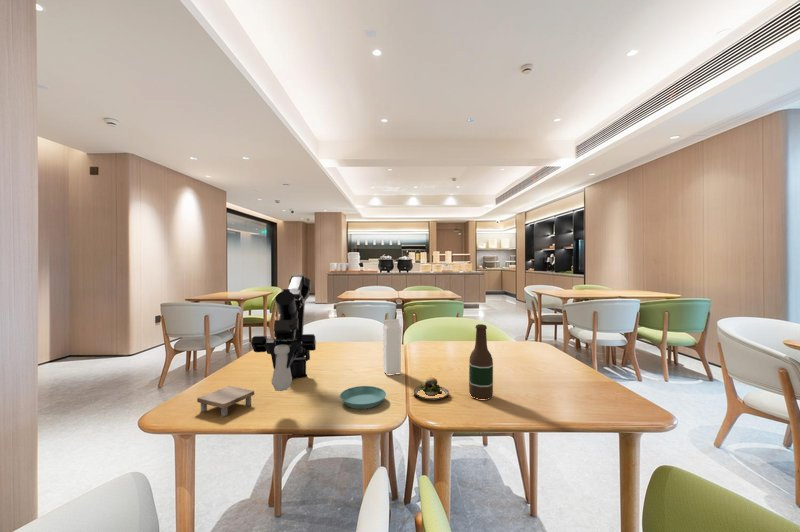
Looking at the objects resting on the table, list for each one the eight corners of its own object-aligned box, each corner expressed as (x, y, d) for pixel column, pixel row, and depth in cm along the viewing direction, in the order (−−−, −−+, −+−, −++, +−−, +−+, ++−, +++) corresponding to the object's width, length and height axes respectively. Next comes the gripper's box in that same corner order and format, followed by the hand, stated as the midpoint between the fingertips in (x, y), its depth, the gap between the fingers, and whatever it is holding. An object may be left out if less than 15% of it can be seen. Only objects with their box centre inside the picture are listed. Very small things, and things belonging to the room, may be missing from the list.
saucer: (335, 397, 111) (335, 389, 111) (377, 391, 117) (377, 383, 117) (346, 415, 98) (346, 406, 98) (392, 407, 103) (392, 399, 103)
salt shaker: (284, 393, 96) (284, 348, 96) (267, 391, 98) (267, 347, 98) (295, 386, 102) (295, 343, 102) (279, 384, 104) (279, 342, 103)
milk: (400, 375, 134) (401, 320, 134) (386, 376, 132) (386, 320, 132) (396, 370, 140) (397, 317, 139) (382, 371, 138) (383, 318, 138)
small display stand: (229, 398, 109) (229, 385, 109) (254, 403, 105) (254, 391, 105) (197, 411, 99) (197, 398, 99) (223, 418, 95) (223, 404, 95)
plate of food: (408, 400, 109) (408, 377, 109) (419, 388, 120) (420, 367, 120) (444, 405, 105) (444, 382, 105) (452, 392, 116) (452, 371, 116)
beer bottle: (493, 393, 115) (493, 323, 115) (492, 402, 107) (492, 327, 107) (470, 390, 117) (470, 322, 117) (467, 399, 110) (467, 326, 110)
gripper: (252, 309, 102) (241, 355, 91) (315, 308, 105) (311, 353, 94) (259, 330, 110) (249, 374, 99) (317, 328, 113) (314, 371, 102)
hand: (280, 368), depth 99 cm, fingers closed on salt shaker, 3 cm apart
